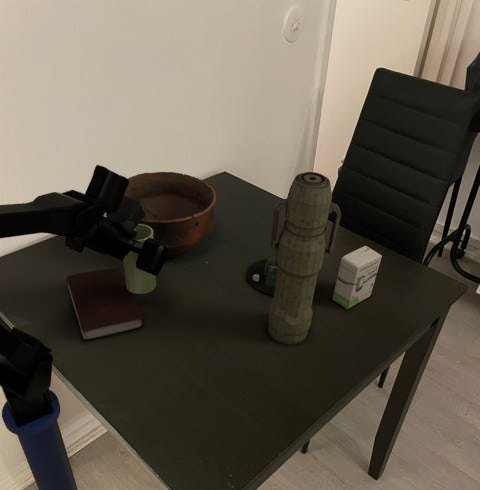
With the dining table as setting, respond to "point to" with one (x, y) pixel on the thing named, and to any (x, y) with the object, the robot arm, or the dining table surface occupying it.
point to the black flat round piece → (264, 275)
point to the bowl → (174, 208)
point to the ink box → (356, 276)
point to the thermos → (300, 254)
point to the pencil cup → (135, 277)
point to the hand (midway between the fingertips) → (143, 256)
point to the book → (103, 303)
